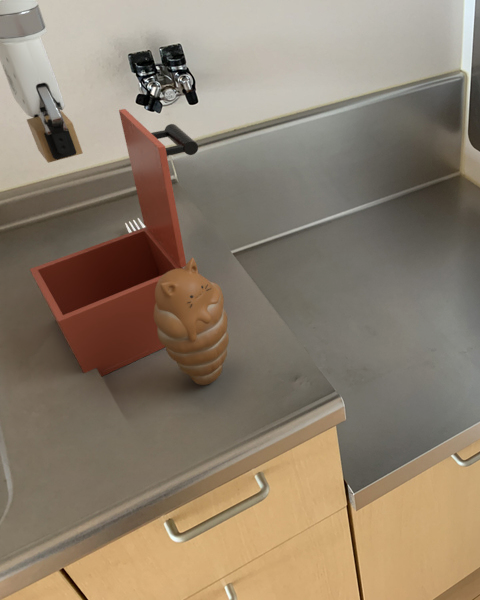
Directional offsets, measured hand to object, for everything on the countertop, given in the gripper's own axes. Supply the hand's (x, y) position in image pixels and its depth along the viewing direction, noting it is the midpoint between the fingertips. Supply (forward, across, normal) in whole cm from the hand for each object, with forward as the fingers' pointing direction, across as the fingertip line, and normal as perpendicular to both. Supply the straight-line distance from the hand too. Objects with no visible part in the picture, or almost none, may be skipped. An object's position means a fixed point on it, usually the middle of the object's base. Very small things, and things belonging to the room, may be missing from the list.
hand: (59, 148), depth 92 cm
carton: (+1, 0, 0) cm, 1 cm away
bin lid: (-3, +26, +5) cm, 27 cm away
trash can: (+16, +26, -3) cm, 31 cm away
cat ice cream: (+16, +42, +1) cm, 45 cm away
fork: (+16, +12, +6) cm, 21 cm away
